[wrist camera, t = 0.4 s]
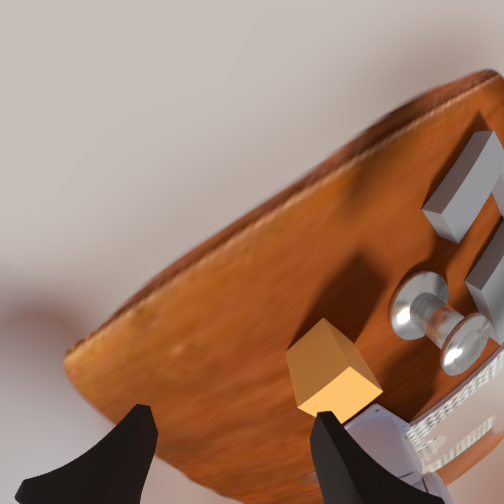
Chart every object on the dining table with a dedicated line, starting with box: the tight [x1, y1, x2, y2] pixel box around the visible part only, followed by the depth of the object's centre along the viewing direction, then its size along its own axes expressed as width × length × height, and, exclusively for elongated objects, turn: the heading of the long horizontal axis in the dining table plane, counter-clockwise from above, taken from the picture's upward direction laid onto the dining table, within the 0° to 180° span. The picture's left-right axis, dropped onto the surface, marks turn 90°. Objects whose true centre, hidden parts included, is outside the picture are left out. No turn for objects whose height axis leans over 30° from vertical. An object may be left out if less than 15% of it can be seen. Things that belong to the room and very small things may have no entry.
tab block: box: [285, 317, 383, 424], centre depth 17 cm, size 4×4×6 cm
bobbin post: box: [388, 270, 490, 376], centre depth 16 cm, size 6×6×7 cm
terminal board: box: [421, 130, 504, 345], centre depth 17 cm, size 20×10×2 cm, turn 48°
